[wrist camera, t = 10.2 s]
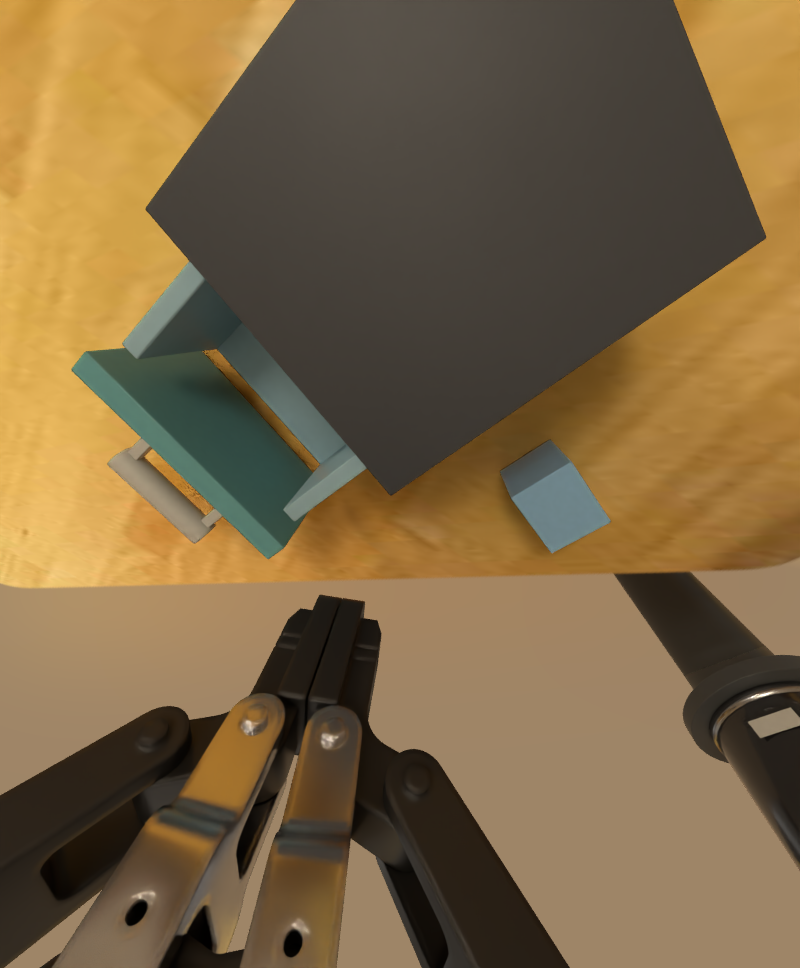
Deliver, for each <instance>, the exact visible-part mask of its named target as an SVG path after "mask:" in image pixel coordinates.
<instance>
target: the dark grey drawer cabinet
mask: <svg viewBox="0 0 800 968" xmlns="http://www.w3.org/2000/svg"><path fill="white" fill-rule="evenodd" d="M146 211H147V212H148V213H149V214H150V215H151V216H152V218H153V219H154V220H155V221H156V222H157V223H158V225H159V226H160V227H161V228H162V229H163V230H164V232H165V233H166V234H167V235H168V236H169V237H170V239H171V240H172V241H173V242H174V243H175V244H176V246H177V247H178V248H179V249H180V250H181V251H182V253H183V254H184V255H185V256H186V257H187V258H188V260H189V261H190V262H191V263H192V264H193V266H194V267H195V268H196V269H197V270H198V271H199V273H200V274H201V275H202V276H203V277H204V278H205V280H206V281H207V282H208V283H209V284H210V285H211V287H212V288H213V289H214V290H215V291H216V292H217V294H218V295H219V296H220V297H221V298H222V299H223V301H224V302H225V303H226V304H227V305H228V306H229V308H230V309H231V310H232V311H233V312H234V313H235V315H236V316H237V317H238V318H239V319H240V320H241V322H242V323H243V324H244V325H245V326H246V327H247V329H248V330H249V331H250V332H251V333H252V334H253V336H254V337H255V338H256V339H257V340H258V341H259V343H260V344H261V345H262V346H263V347H264V348H265V350H266V351H267V352H268V353H269V354H270V355H271V357H272V358H273V359H274V360H275V361H276V362H277V364H278V365H279V366H280V367H281V368H282V369H283V371H284V372H285V373H286V374H287V375H288V376H289V378H290V379H291V380H292V381H293V382H294V383H295V385H296V386H297V387H298V388H299V389H300V391H301V392H302V393H303V394H304V395H305V396H306V398H307V399H308V400H309V401H310V402H311V403H312V405H313V406H314V407H315V408H316V409H317V410H318V412H319V413H320V414H321V415H322V416H323V417H324V419H325V420H326V421H327V422H328V423H329V424H330V426H331V427H332V428H333V429H334V430H335V431H336V433H337V434H338V435H339V436H340V437H341V438H342V440H343V441H344V442H345V443H346V444H347V445H348V447H349V448H350V449H351V450H352V451H353V452H354V454H355V455H356V456H357V457H358V458H359V459H360V461H361V462H362V463H363V464H364V465H365V466H366V468H367V469H368V470H369V471H370V472H371V473H372V475H373V476H374V477H375V478H376V479H377V480H378V482H379V483H380V484H381V485H382V486H383V487H384V489H385V490H386V491H387V492H388V493H389V494H390V495H393V494H394V493H396V492H397V491H399V490H400V489H402V488H403V487H405V486H406V485H407V484H409V483H410V482H412V481H413V480H415V479H416V478H418V477H419V476H421V475H422V474H424V473H425V472H426V471H428V470H429V469H431V468H432V467H434V466H435V465H437V464H438V463H440V462H441V461H442V460H444V459H445V458H447V457H448V456H450V455H451V454H453V453H454V452H456V451H457V450H458V449H460V448H461V447H463V446H464V445H466V444H467V443H469V442H470V441H472V440H473V439H474V438H476V437H477V436H479V435H480V434H482V433H483V432H485V431H486V430H488V429H489V428H491V427H492V426H493V425H495V424H496V423H498V422H499V421H501V420H502V419H504V418H505V417H507V416H508V415H509V414H511V413H512V412H514V411H515V410H517V409H518V408H520V407H521V406H523V405H524V404H525V403H527V402H528V401H530V400H531V399H533V398H534V397H536V396H537V395H539V394H540V393H541V392H543V391H544V390H546V389H547V388H549V387H550V386H552V385H553V384H555V383H556V382H558V381H559V380H560V379H562V378H563V377H565V376H566V375H568V374H569V373H571V372H572V371H574V370H575V369H576V368H578V367H579V366H581V365H582V364H584V363H585V362H587V361H588V360H590V359H591V358H592V357H594V356H595V355H597V354H598V353H600V352H601V351H603V350H604V349H606V348H607V347H609V346H610V345H611V344H613V343H614V342H616V341H617V340H619V339H620V338H622V337H623V336H625V335H626V334H627V333H629V332H630V331H632V330H633V329H635V328H636V327H638V326H639V325H641V324H642V323H643V322H645V321H646V320H648V319H649V318H651V317H652V316H654V315H655V314H657V313H658V312H659V311H661V310H662V309H664V308H665V307H667V306H668V305H670V304H671V303H673V302H674V301H676V300H677V299H678V298H680V297H681V296H683V295H684V294H686V293H687V292H689V291H690V290H692V289H693V288H694V287H696V286H697V285H699V284H700V283H702V282H703V281H705V280H706V279H708V278H709V277H710V276H712V275H713V274H715V273H716V272H718V271H719V270H721V269H722V268H724V267H725V266H726V265H728V264H729V263H731V262H732V261H734V260H735V259H737V258H738V257H740V256H741V255H743V254H744V253H745V252H747V251H748V250H750V249H751V248H753V247H754V246H756V245H757V244H759V243H760V242H761V241H763V240H764V239H765V238H766V235H765V232H764V230H763V227H762V225H761V222H760V220H759V217H758V215H757V212H756V210H755V207H754V204H753V202H752V199H751V197H750V194H749V192H748V189H747V187H746V184H745V182H744V179H743V176H742V174H741V171H740V169H739V166H738V164H737V161H736V159H735V156H734V154H733V151H732V148H731V146H730V143H729V141H728V138H727V136H726V133H725V131H724V128H723V126H722V123H721V120H720V118H719V115H718V113H717V110H716V108H715V105H714V103H713V100H712V98H711V95H710V92H709V90H708V87H707V85H706V82H705V80H704V77H703V75H702V72H701V70H700V67H699V64H698V62H697V59H696V57H695V54H694V52H693V49H692V47H691V44H690V42H689V39H688V36H687V34H686V31H685V29H684V26H683V24H682V21H681V19H680V16H679V14H678V11H677V8H676V6H675V3H674V1H673V0H296V1H295V2H294V3H293V5H292V6H291V8H290V9H289V10H288V12H287V13H286V15H285V16H284V17H283V19H282V20H281V21H280V23H279V24H278V26H277V27H276V28H275V30H274V31H273V33H272V34H271V35H270V37H269V38H268V39H267V41H266V42H265V44H264V45H263V46H262V48H261V49H260V51H259V52H258V53H257V55H256V56H255V57H254V59H253V60H252V62H251V63H250V64H249V66H248V67H247V69H246V70H245V71H244V73H243V74H242V75H241V77H240V78H239V80H238V81H237V82H236V84H235V85H234V87H233V88H232V89H231V91H230V92H229V93H228V95H227V96H226V98H225V99H224V100H223V102H222V103H221V104H220V106H219V107H218V109H217V110H216V111H215V113H214V114H213V116H212V117H211V118H210V120H209V121H208V122H207V124H206V125H205V127H204V128H203V129H202V131H201V132H200V134H199V135H198V136H197V138H196V139H195V140H194V142H193V143H192V145H191V146H190V147H189V149H188V150H187V152H186V153H185V154H184V156H183V157H182V158H181V160H180V161H179V163H178V164H177V165H176V167H175V168H174V170H173V171H172V172H171V174H170V175H169V176H168V178H167V179H166V181H165V182H164V183H163V185H162V186H161V188H160V189H159V190H158V192H157V193H156V194H155V196H154V197H153V199H152V200H151V201H150V203H149V204H148V206H147V207H146Z"/></svg>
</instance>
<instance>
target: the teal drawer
mask: <svg viewBox="0 0 800 968" xmlns="http://www.w3.org/2000/svg"><path fill="white" fill-rule="evenodd" d="M122 344H123V346H124V347H125V348H120V349H109V350H97V351H86V352H84V354H83V355H82V356H81V358H80V359H79V360H78V361H77V363H76V364H75V365H74V367H73V368H72V371H73V372H74V373H75V374H76V375H77V376H78V377H79V378H80V379H81V380H82V381H83V382H84V383H85V384H86V385H87V386H88V387H89V388H90V389H91V390H92V391H93V392H94V393H95V394H96V395H98V396H99V397H100V398H101V399H102V400H103V401H104V402H105V403H106V404H107V405H108V406H109V407H110V408H111V409H112V410H113V411H114V412H115V413H116V414H117V415H118V416H119V417H120V418H121V419H122V420H123V421H125V422H126V423H127V424H128V425H129V426H130V427H131V428H132V429H133V430H134V431H135V432H136V433H137V434H138V435H139V436H140V437H141V438H140V439H139V441H138V442H137V443H136V444H135V445H134V446H133V447H130V448H127V449H125V450H123V451H121V452H120V453H118V454H117V455H115V456H114V457H113V458H112V459H111V460H110V461H109V462H108V466H109V467H110V468H111V469H112V470H114V471H115V472H116V473H117V474H118V475H119V476H120V477H121V478H122V479H123V480H125V481H126V482H127V483H128V484H129V485H130V486H131V487H132V488H133V489H134V490H136V491H137V492H138V493H139V494H140V495H141V496H142V497H143V498H144V499H145V500H146V501H148V502H149V503H150V504H151V505H152V506H153V507H154V508H155V509H156V510H157V511H159V512H160V513H161V514H162V515H163V516H164V517H165V518H166V519H167V520H168V521H170V522H171V523H172V524H173V525H174V526H175V527H176V528H177V529H178V530H179V531H181V532H182V533H183V534H184V535H185V536H186V537H187V538H188V539H189V540H190V541H191V542H193V543H197V542H198V541H199V540H200V539H202V538H203V537H204V536H205V535H206V534H208V533H209V532H210V531H211V530H212V529H213V528H214V527H215V526H216V525H215V524H214V523H215V522H216V521H218V520H219V519H220V518H221V517H222V516H223V517H224V518H225V519H226V520H227V521H228V522H229V523H231V524H232V525H233V526H234V527H235V528H236V529H237V530H238V531H239V532H240V533H241V534H242V535H243V536H244V537H245V538H246V539H247V540H248V541H249V542H250V543H251V544H252V545H253V546H254V547H255V548H257V549H258V550H259V551H260V552H261V553H262V554H263V555H264V556H265V557H266V558H267V559H269V558H271V557H272V556H274V555H275V554H276V553H278V552H279V551H281V550H282V549H283V548H284V547H285V546H286V544H287V543H288V541H289V540H290V538H291V537H292V535H293V534H294V532H295V531H296V529H297V528H298V527H299V525H300V524H301V522H302V521H303V519H304V518H305V516H306V515H307V513H308V512H309V511H310V510H311V509H312V508H314V507H315V506H317V505H318V504H319V503H321V502H322V501H323V500H325V499H326V498H327V497H329V496H330V495H331V494H333V493H334V492H336V491H337V490H338V489H340V488H341V487H342V486H344V485H345V484H346V483H348V482H349V481H351V480H352V479H353V478H355V477H356V476H357V475H359V474H360V473H361V472H363V471H364V470H365V469H367V468H366V466H365V465H364V464H363V463H362V462H361V461H360V459H359V458H358V457H357V456H356V455H355V454H354V452H353V451H352V450H351V449H350V448H349V447H348V445H347V444H346V443H345V442H344V441H343V440H342V438H341V437H340V436H339V435H338V434H337V433H336V431H335V430H334V429H333V428H332V427H331V426H330V424H329V423H328V422H327V421H326V420H325V419H324V417H323V416H322V415H321V414H320V413H319V412H318V410H317V409H316V408H315V407H314V406H313V405H312V403H311V402H310V401H309V400H308V399H307V398H306V396H305V395H304V394H303V393H302V392H301V391H300V389H299V388H298V387H297V386H296V385H295V383H294V382H293V381H292V380H291V379H290V378H289V376H288V375H287V374H286V373H285V372H284V371H283V369H282V368H281V367H280V366H279V365H278V364H277V362H276V361H275V360H274V359H273V358H272V357H271V355H270V354H269V353H268V352H267V351H266V350H265V348H264V347H263V346H262V345H261V344H260V343H259V341H258V340H257V339H256V338H255V337H254V336H253V334H252V333H251V332H250V331H249V330H248V329H247V327H246V326H245V325H244V324H243V323H242V322H241V320H240V319H239V318H238V317H237V316H236V315H235V313H234V312H233V311H232V310H231V309H230V308H229V306H228V305H227V304H226V303H225V302H224V301H223V299H222V298H221V297H220V296H219V295H218V294H217V292H216V291H215V290H214V289H213V288H212V287H211V285H210V284H209V283H208V282H207V281H206V280H205V278H204V277H203V276H202V275H201V274H200V273H199V271H198V270H197V269H196V268H195V267H194V266H193V264H192V263H191V262H190V261H189V262H188V263H187V265H186V266H185V267H184V268H183V270H182V271H181V272H180V273H179V274H178V276H177V277H176V278H175V279H174V281H173V282H172V283H171V284H170V285H169V287H168V288H167V289H166V290H165V292H164V293H163V294H162V295H161V296H160V298H159V299H158V300H157V301H156V303H155V304H154V305H153V306H152V307H151V309H150V310H149V311H148V312H147V314H146V315H145V316H144V317H143V318H142V320H141V321H140V322H139V323H138V324H137V326H136V327H135V328H134V329H133V331H132V332H131V333H130V334H129V335H128V337H127V338H126V339H125V340H124V342H123V343H122ZM213 349H218V351H219V352H220V353H221V354H222V355H223V356H224V357H225V358H226V360H227V361H228V362H229V363H230V364H231V365H232V366H233V367H234V368H235V370H236V371H237V372H238V373H239V374H240V375H241V376H242V377H243V378H244V380H245V381H246V382H247V383H248V384H249V385H250V386H251V387H252V389H253V390H254V391H255V392H256V393H257V394H258V395H259V396H260V397H261V399H262V400H263V401H264V402H265V403H266V404H267V405H268V406H269V407H270V409H271V410H272V411H273V412H274V413H275V414H276V415H277V416H278V417H279V419H280V420H281V421H282V422H283V423H284V424H285V425H286V426H287V428H288V429H289V430H290V431H291V432H292V433H293V434H294V435H295V436H296V438H297V439H298V440H299V441H300V442H301V443H302V444H303V445H304V446H305V448H306V449H307V450H308V451H309V452H310V453H311V454H312V455H313V457H314V458H315V459H316V460H317V461H318V462H319V463H320V465H319V466H318V468H317V469H316V470H315V471H314V472H312V471H311V470H310V469H309V468H308V467H307V466H306V465H305V464H304V463H303V461H302V460H301V459H300V458H299V457H298V456H297V455H296V454H295V453H294V452H293V450H292V449H291V448H290V447H289V446H288V445H287V444H286V443H285V442H284V441H283V440H282V438H281V437H280V436H279V435H278V434H277V433H276V432H275V431H274V430H273V429H272V427H271V426H270V425H269V424H268V423H267V422H266V421H265V420H264V419H263V418H262V416H261V415H260V414H259V413H258V412H257V411H256V410H255V409H254V408H253V407H252V405H251V404H250V403H249V402H248V401H247V400H246V399H245V398H244V397H243V396H242V395H241V393H240V392H239V391H238V390H237V389H236V388H235V387H234V386H233V385H232V384H231V382H230V381H229V380H228V379H227V378H226V377H225V376H224V375H223V374H222V373H221V371H220V370H219V369H218V368H217V367H216V366H215V365H214V364H213V363H212V362H211V360H210V359H209V358H208V357H207V356H206V355H205V354H204V353H203V352H202V351H205V350H213ZM152 448H153V449H154V450H155V451H156V452H157V453H158V454H159V455H160V456H161V457H162V458H163V459H164V460H165V461H166V462H167V463H168V464H169V465H170V466H171V467H172V468H173V469H174V470H175V471H176V472H178V473H179V474H180V475H181V476H182V477H183V478H184V479H185V480H186V481H187V482H188V483H189V484H190V485H191V486H192V487H193V488H194V489H195V490H196V491H197V492H198V493H199V494H200V495H201V496H202V497H204V498H205V499H206V500H207V501H208V502H209V503H210V504H211V505H212V506H213V507H214V509H213V510H212V511H211V512H210V513H208V514H207V515H205V514H204V513H203V512H202V511H201V510H200V509H198V508H197V507H196V506H195V505H194V504H193V503H192V502H191V501H190V500H189V499H188V498H187V497H186V496H185V495H184V494H183V493H182V492H181V491H179V490H178V489H177V488H176V487H175V486H174V485H173V484H172V483H171V482H170V481H169V480H168V479H167V478H166V477H165V476H164V475H163V474H162V473H160V472H159V471H158V470H157V469H156V468H155V467H154V466H153V465H152V464H151V463H150V462H149V461H148V460H147V459H146V458H145V457H144V456H145V455H146V454H147V453H148V452H149V451H150V450H151V449H152Z"/></svg>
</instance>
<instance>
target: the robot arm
mask: <svg viewBox="0 0 800 968" xmlns="http://www.w3.org/2000/svg"><path fill="white" fill-rule="evenodd" d="M364 608H365V602H364V601H358V600H351V599H345V598H343V599H342V598H338V597H332V596H325V595H319V597H318V599H317V601H316V603H315V606H314V608H313V610H307V609H300V610H299V611H297V612H296V613H295V614H294V615H293V616H291V617H290V619H288V621H287V623H286V625H285V627H284V629H283V631H282V633H281V636H280V637H279V639H278V641H277V643H276V646H275V647H274V649H273V651H272V653H271V655H270V657H269V659H268V661H267V663H266V665H265V667H264V669H263V671H262V673H261V675H260V677H259V679H258V681H257V683H256V685H255V686H254V688H253V690H252V692H251V694H250V695H249V696H248V697H246V698H244V699H242V700H241V701H239V702H238V703H237V704H236V705H235V706H234V707H233V708H232V710H231V711H229V712H227V713H224V714H221V715H217V716H211V717H205V718H199V719H193V720H189V718H188V715H187V714H186V713H185V711H183V710H182V709H180V708H178V707H174V706H173V707H172V706H166V707H160V708H156V709H154V710H151V711H149V712H147V713H145V714H143V715H142V716H140V717H138V718H136V719H135V720H133V721H131V722H129V723H127V724H126V725H124V726H122V727H120V728H119V729H117V730H115V731H113V732H111V733H110V734H108V735H106V736H104V737H103V738H101V739H99V740H98V741H96V742H94V743H92V744H90V745H89V746H87V747H85V748H83V749H81V750H80V751H78V752H76V753H75V754H73V755H71V756H69V757H67V758H66V759H64V760H62V761H60V762H58V763H57V764H55V765H53V766H51V767H50V768H48V769H46V770H45V771H43V772H41V773H39V774H37V775H36V776H34V777H32V778H30V779H28V780H27V781H25V782H23V783H21V784H20V785H18V786H16V787H14V788H13V789H11V790H9V791H7V792H6V793H4V794H2V795H0V968H4V967H5V966H7V965H8V964H9V963H10V962H12V961H13V960H14V959H15V958H17V957H18V956H19V955H20V954H22V953H23V952H24V951H25V950H27V949H28V948H29V947H31V946H32V945H33V944H34V943H36V942H37V941H38V940H39V939H40V938H42V937H43V936H44V935H46V934H47V933H48V932H49V931H51V930H52V929H53V928H54V927H56V926H57V925H58V924H59V923H61V922H62V921H63V920H64V919H66V918H67V917H68V916H69V915H71V914H72V913H73V912H75V911H76V910H77V909H78V908H80V907H81V906H82V905H83V904H85V903H86V902H87V901H88V900H90V899H91V898H92V897H93V896H94V895H96V894H97V893H98V892H100V891H101V890H102V891H101V892H100V894H99V896H98V897H97V899H96V900H95V902H94V903H93V905H92V906H91V908H90V910H89V911H88V913H87V914H86V916H85V917H84V919H83V920H82V922H81V923H80V925H79V926H78V928H77V929H76V931H75V933H74V934H73V936H72V937H71V939H70V940H69V942H68V943H67V945H66V946H65V948H64V950H63V951H62V953H60V954H58V955H57V956H55V957H54V958H53V959H51V960H50V961H48V962H47V963H46V964H44V965H43V966H42V967H40V968H336V967H337V958H338V949H339V940H340V931H341V922H342V912H343V904H344V895H345V885H346V876H347V867H348V858H349V848H350V839H353V840H354V841H355V842H357V843H358V844H360V845H361V846H362V847H364V848H365V849H367V850H368V851H370V852H371V853H372V854H374V855H375V856H376V859H377V862H378V865H379V867H380V870H381V872H382V874H383V877H384V879H385V881H386V884H387V886H388V889H389V891H390V894H391V896H392V898H393V900H394V903H395V905H396V908H397V910H398V912H399V915H400V917H401V920H402V922H403V924H404V927H405V929H406V931H407V934H408V936H409V938H410V941H411V943H412V946H413V948H414V950H415V953H416V955H417V957H418V960H419V962H420V965H421V967H422V968H570V967H569V966H568V964H567V963H566V961H565V960H564V958H563V957H562V955H561V954H560V952H559V950H558V949H557V947H556V946H555V944H554V942H553V941H552V939H551V938H550V936H549V935H548V933H547V932H546V930H545V928H544V927H543V925H542V924H541V922H540V921H539V919H538V917H537V916H536V914H535V913H534V911H533V910H532V908H531V906H530V905H529V903H528V902H527V900H526V899H525V897H524V895H523V894H522V893H521V891H520V889H519V888H518V886H517V884H516V883H515V882H514V880H513V878H512V877H511V875H510V874H509V872H508V870H507V869H506V867H505V866H504V864H503V863H502V861H501V859H500V858H499V857H498V855H497V853H496V852H495V850H494V849H493V847H492V846H491V844H490V842H489V841H488V839H487V838H486V836H485V834H484V833H483V831H482V830H481V828H480V827H479V825H478V823H477V822H476V820H475V819H474V817H473V816H472V814H471V813H470V811H469V809H468V808H467V806H466V805H465V803H464V802H463V800H462V798H461V797H460V795H459V794H458V792H457V791H456V789H455V787H454V786H453V784H452V783H451V781H450V780H449V778H448V777H447V775H446V773H445V772H444V770H443V769H442V767H441V766H440V764H439V763H438V761H437V760H436V759H434V757H432V756H431V755H430V754H428V753H426V752H424V751H421V750H417V749H410V750H405V751H403V752H401V753H399V752H397V751H395V750H393V749H391V748H390V747H388V746H386V745H385V744H383V743H382V742H381V741H380V740H379V739H377V737H376V736H375V735H374V734H373V732H372V730H371V728H370V726H369V722H368V717H369V711H370V706H371V700H372V694H373V688H374V683H375V677H376V671H377V666H378V658H379V650H380V642H381V631H380V628H379V625H378V621H377V620H370V619H365V618H364ZM709 733H710V736H711V738H712V740H713V742H714V743H715V745H716V746H717V748H718V749H719V751H720V752H721V753H722V754H723V755H724V756H725V757H726V759H727V760H728V762H729V763H730V765H731V766H732V768H733V769H734V771H735V772H736V774H737V775H738V777H739V779H740V780H741V782H742V783H743V785H744V786H745V788H746V789H747V791H748V793H749V794H750V796H751V797H752V799H753V800H754V802H755V803H756V805H757V806H758V808H759V810H760V811H761V813H762V814H763V815H764V817H765V818H766V820H767V822H768V823H769V825H770V826H771V828H772V829H773V831H774V832H775V834H776V835H777V837H778V838H779V840H780V841H781V843H782V844H783V846H784V848H785V849H786V851H787V852H788V854H789V855H790V857H791V858H792V860H793V861H794V863H795V864H796V866H797V867H798V869H799V870H800V681H782V682H773V683H767V684H763V685H759V686H756V687H752V688H750V689H747V690H745V691H742V692H740V693H738V694H736V695H734V696H733V697H731V698H729V699H728V700H727V701H725V702H724V703H723V704H722V705H721V706H720V707H719V708H718V709H717V710H716V711H715V712H714V714H713V716H712V718H711V720H710V723H709ZM294 755H299V756H298V760H297V764H296V768H295V772H294V776H293V780H292V784H291V788H290V792H289V797H288V800H287V804H286V808H285V812H284V816H283V820H282V824H281V827H280V829H279V832H277V833H276V835H275V838H274V840H273V843H272V846H271V850H270V853H269V857H268V860H267V864H266V868H265V872H264V875H263V879H262V883H261V887H260V891H259V895H258V898H257V902H256V907H255V910H254V914H253V918H252V922H251V926H250V929H249V934H248V937H247V941H246V945H245V949H243V950H238V951H233V952H228V953H227V950H228V947H229V945H230V942H231V939H232V937H233V934H234V931H235V928H236V925H237V922H238V919H239V916H240V912H241V908H242V904H243V898H244V894H245V890H246V887H247V884H248V881H249V878H250V876H251V873H252V870H253V868H254V865H255V863H256V860H257V858H258V855H259V853H260V850H261V848H262V845H263V843H264V840H265V837H266V835H267V833H268V830H269V828H270V825H271V823H272V820H273V817H274V815H275V812H276V810H277V808H278V805H279V802H280V800H281V797H282V795H283V792H284V789H285V786H286V780H287V779H286V778H287V775H288V773H289V769H290V766H291V764H292V760H293V757H294Z"/></svg>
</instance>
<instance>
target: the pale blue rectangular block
mask: <svg viewBox="0 0 800 968" xmlns="http://www.w3.org/2000/svg"><path fill="white" fill-rule="evenodd" d="M500 473H501V476H502V478H503V481H504V483H505V486H506V488H507V490H508V493H509V495H510V498H511V499H512V501H513V502H514V503H515V505H516V506H517V508H518V509H519V510H520V512H521V513H522V514H523V516H524V517H525V518H526V520H527V521H528V522H529V524H530V525H531V526H532V528H533V529H534V530H535V532H536V533H537V534H538V536H539V537H540V539H541V540H542V541H543V543H544V544H545V545H546V547H547V548H548V549H549V551H550V552H551V553H553V552H555V551H557V550H559V549H561V548H563V547H565V546H566V545H568V544H570V543H572V542H574V541H576V540H578V539H580V538H582V537H583V536H585V535H587V534H589V533H591V532H593V531H595V530H597V529H599V528H601V527H602V526H604V525H606V524H608V523H610V522H611V521H610V519H609V518H608V516H607V515H606V513H605V512H604V510H603V509H602V507H601V506H600V504H599V502H598V501H597V499H596V498H595V496H594V495H593V493H592V492H591V490H590V489H589V487H588V486H587V484H586V483H585V481H584V480H583V478H582V477H581V475H580V474H579V472H578V471H577V469H576V468H575V466H574V465H573V463H572V462H571V461H570V460H569V458H568V457H567V456H566V455H565V454H564V453H563V452H562V451H561V450H560V449H559V448H558V447H557V446H556V445H555V444H554V443H553V442H552V441H551V440H548V441H547V442H545V443H543V444H542V445H540V446H539V447H537V448H536V449H534V450H533V451H531V452H529V453H528V454H526V455H525V456H523V457H522V458H520V459H518V460H517V461H515V462H514V463H512V464H511V465H509V466H507V467H506V468H504V469H503V470H501V471H500Z"/></svg>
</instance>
